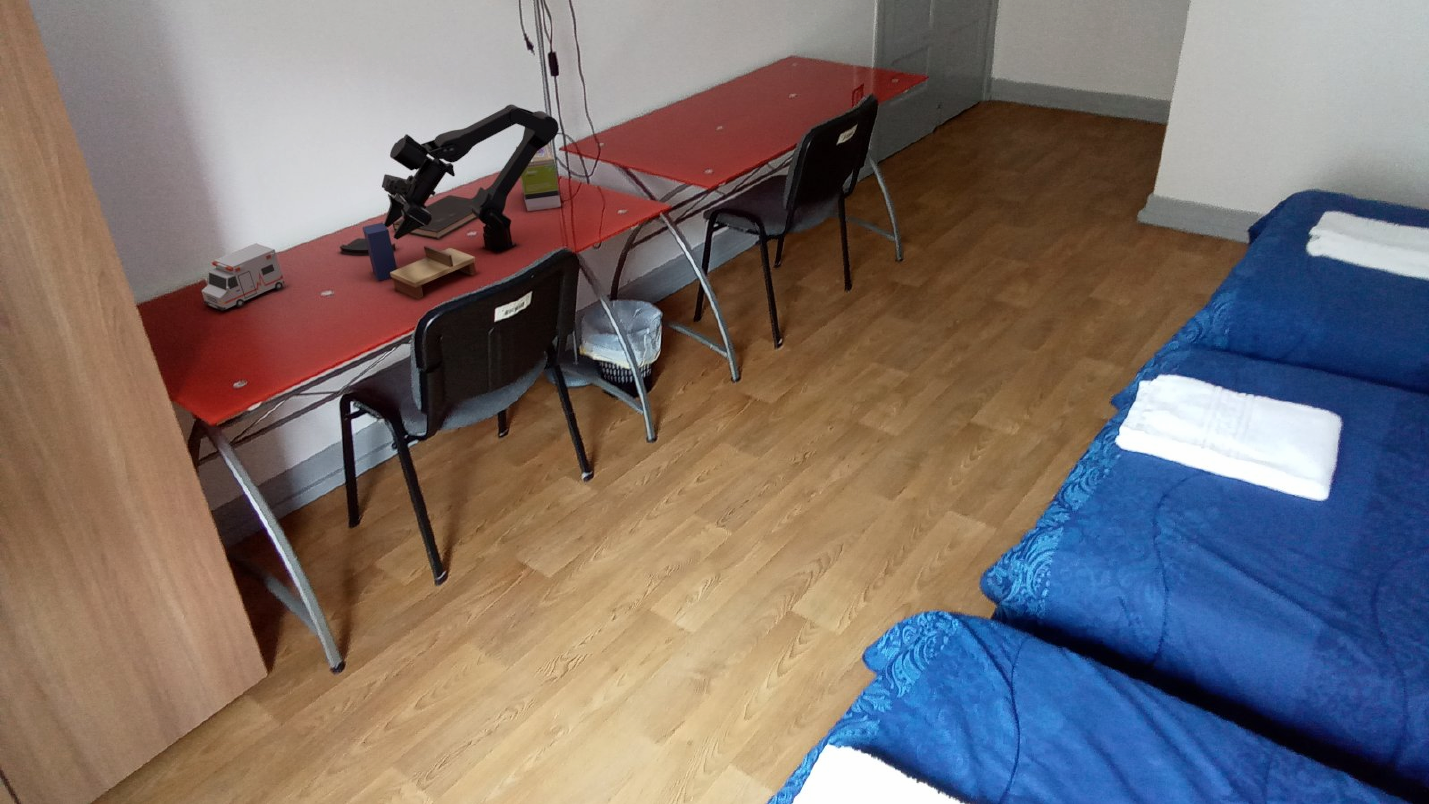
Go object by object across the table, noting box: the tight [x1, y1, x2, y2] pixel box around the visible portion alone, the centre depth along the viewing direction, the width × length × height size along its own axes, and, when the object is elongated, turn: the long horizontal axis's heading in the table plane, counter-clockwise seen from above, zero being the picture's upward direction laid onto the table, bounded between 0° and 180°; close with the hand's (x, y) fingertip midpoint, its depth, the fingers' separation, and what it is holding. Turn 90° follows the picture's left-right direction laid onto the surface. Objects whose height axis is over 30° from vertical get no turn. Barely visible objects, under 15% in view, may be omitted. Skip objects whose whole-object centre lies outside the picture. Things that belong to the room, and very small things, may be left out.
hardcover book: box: [392, 194, 478, 240], centre depth 278 cm, size 16×23×2 cm
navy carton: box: [362, 222, 398, 282], centre depth 245 cm, size 5×6×12 cm
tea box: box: [515, 143, 562, 212], centre depth 284 cm, size 15×10×15 cm, turn 14°
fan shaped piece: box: [339, 237, 397, 256], centre depth 262 cm, size 8×14×2 cm, turn 71°
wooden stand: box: [390, 245, 477, 300], centre depth 242 cm, size 18×10×8 cm, turn 140°
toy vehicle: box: [201, 242, 285, 311], centre depth 238 cm, size 10×17×10 cm, turn 146°
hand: (390, 232), depth 244 cm, fingers open, 9 cm apart
